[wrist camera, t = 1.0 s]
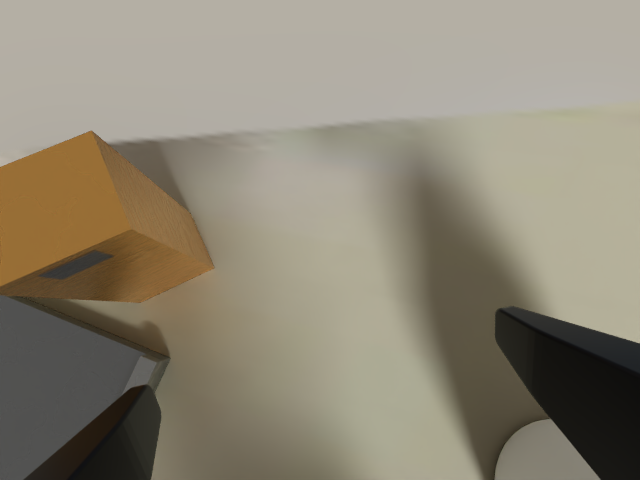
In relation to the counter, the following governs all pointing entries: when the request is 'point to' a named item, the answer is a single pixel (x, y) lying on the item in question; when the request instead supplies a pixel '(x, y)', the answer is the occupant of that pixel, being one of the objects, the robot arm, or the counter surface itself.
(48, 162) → the block
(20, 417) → the dark grey tray
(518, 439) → the milk bottle
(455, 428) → the counter surface
